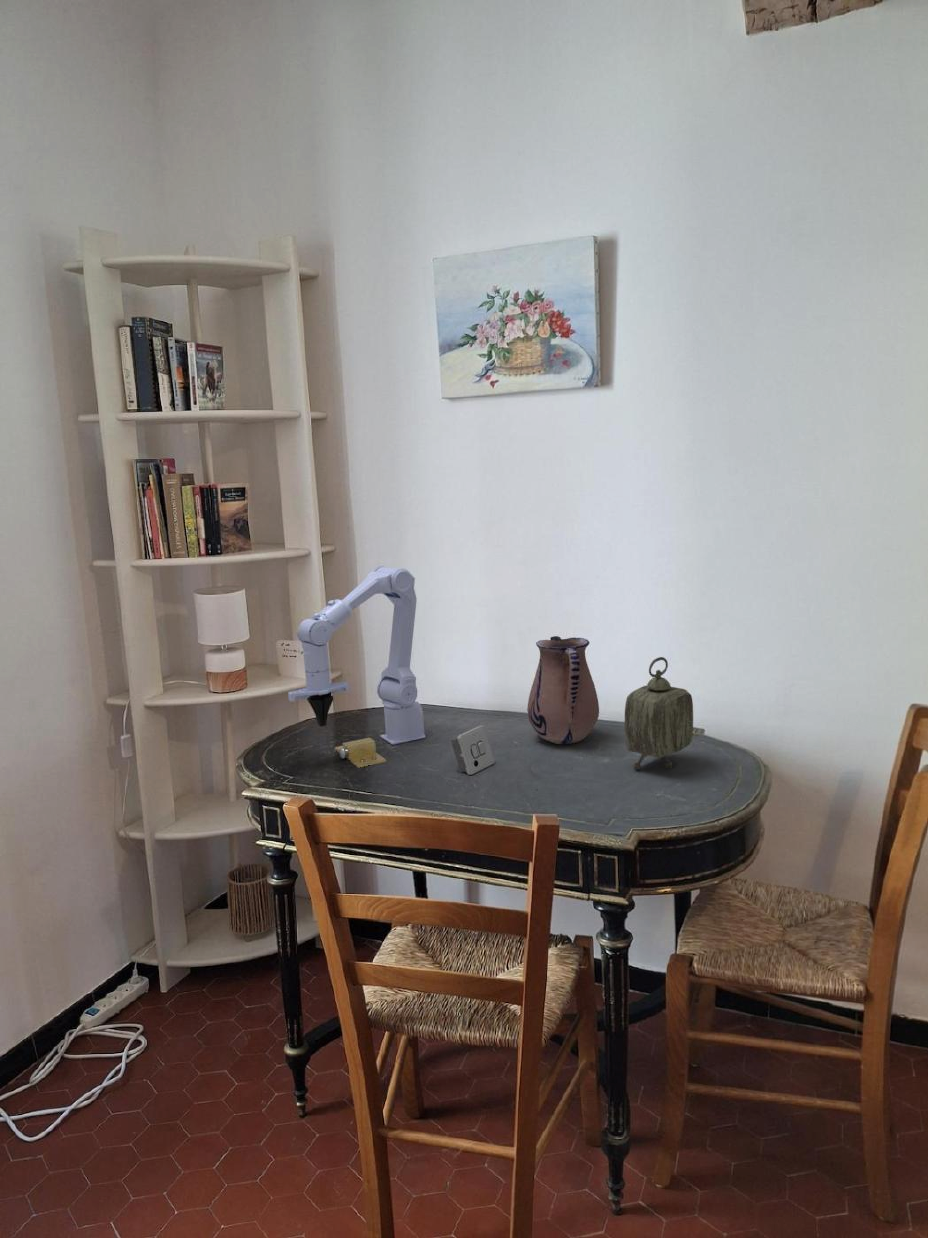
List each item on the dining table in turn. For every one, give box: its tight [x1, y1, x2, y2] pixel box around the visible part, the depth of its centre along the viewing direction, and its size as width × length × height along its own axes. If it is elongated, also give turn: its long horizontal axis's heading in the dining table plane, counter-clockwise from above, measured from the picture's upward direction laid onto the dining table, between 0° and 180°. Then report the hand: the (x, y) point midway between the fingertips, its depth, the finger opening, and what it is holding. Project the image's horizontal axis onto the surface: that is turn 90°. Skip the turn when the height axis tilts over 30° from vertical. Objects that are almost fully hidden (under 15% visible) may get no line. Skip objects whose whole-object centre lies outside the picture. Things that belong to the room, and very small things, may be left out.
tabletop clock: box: [623, 656, 694, 771], centre depth 203 cm, size 14×9×25 cm, turn 134°
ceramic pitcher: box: [527, 635, 600, 745], centre depth 224 cm, size 18×21×25 cm
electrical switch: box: [450, 725, 495, 776], centre depth 210 cm, size 9×5×9 cm, turn 141°
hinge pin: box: [339, 743, 377, 759], centre depth 223 cm, size 9×3×3 cm, turn 118°
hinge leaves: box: [334, 737, 387, 769], centre depth 223 cm, size 7×16×3 cm, turn 28°
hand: (322, 725), depth 218 cm, fingers closed
